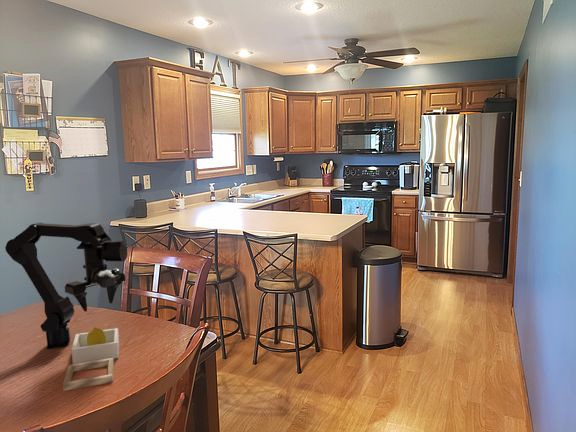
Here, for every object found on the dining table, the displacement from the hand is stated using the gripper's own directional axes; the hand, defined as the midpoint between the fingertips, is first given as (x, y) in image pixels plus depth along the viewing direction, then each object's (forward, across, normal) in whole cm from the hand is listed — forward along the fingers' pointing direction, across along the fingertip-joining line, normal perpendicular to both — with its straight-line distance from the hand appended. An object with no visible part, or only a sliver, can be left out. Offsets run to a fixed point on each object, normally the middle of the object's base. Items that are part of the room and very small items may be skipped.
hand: (98, 307), depth 150 cm
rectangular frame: (+13, -15, -18) cm, 26 cm away
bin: (+13, -5, -5) cm, 15 cm away
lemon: (+13, -5, -5) cm, 14 cm away
